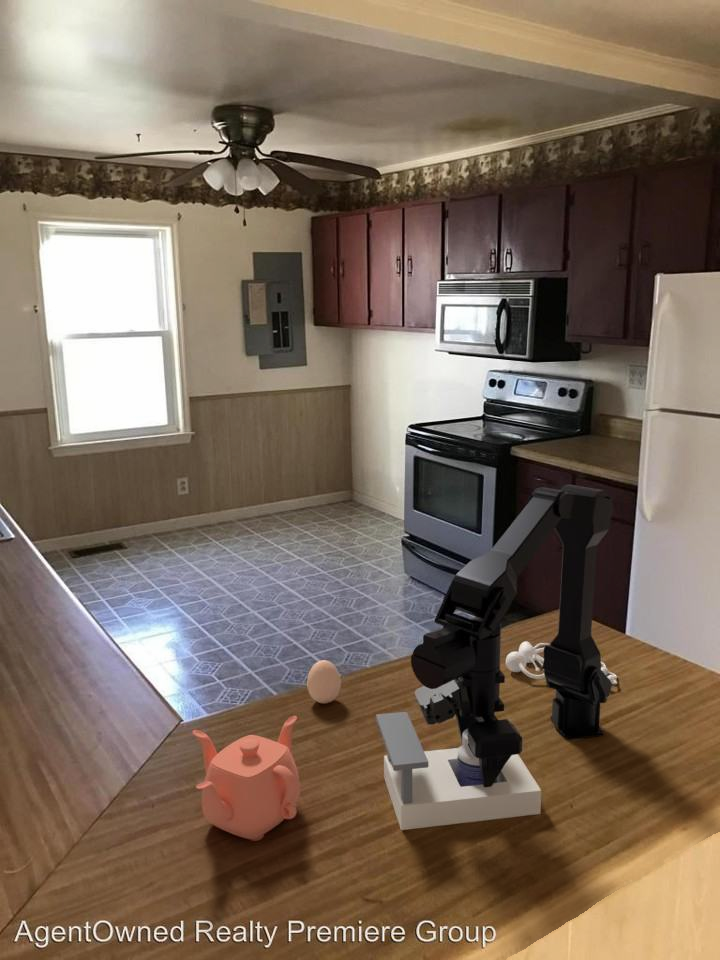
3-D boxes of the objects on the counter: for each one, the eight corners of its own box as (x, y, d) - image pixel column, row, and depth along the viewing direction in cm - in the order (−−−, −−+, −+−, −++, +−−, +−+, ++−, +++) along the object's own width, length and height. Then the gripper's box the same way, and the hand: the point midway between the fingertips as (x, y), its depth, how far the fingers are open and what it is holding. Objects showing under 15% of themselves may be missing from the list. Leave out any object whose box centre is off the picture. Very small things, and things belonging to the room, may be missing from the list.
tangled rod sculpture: (627, 677, 147) (629, 656, 146) (606, 704, 134) (608, 681, 134) (527, 651, 157) (529, 631, 156) (499, 674, 145) (501, 653, 144)
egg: (330, 713, 133) (329, 671, 131) (301, 705, 135) (300, 664, 134) (347, 698, 137) (346, 657, 136) (318, 691, 140) (317, 651, 139)
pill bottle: (494, 805, 107) (495, 746, 105) (455, 801, 108) (455, 742, 106) (496, 783, 112) (497, 726, 110) (459, 779, 113) (459, 723, 111)
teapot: (201, 863, 97) (195, 783, 95) (197, 795, 111) (191, 724, 108) (316, 842, 100) (314, 765, 98) (299, 779, 114) (296, 710, 112)
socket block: (508, 762, 117) (510, 701, 115) (541, 816, 105) (544, 749, 103) (376, 776, 114) (375, 714, 112) (394, 833, 102) (393, 765, 100)
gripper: (405, 639, 114) (405, 737, 117) (437, 701, 96) (437, 815, 99) (479, 633, 115) (478, 730, 119) (525, 693, 97) (522, 805, 101)
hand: (476, 767), depth 109 cm, fingers open, 9 cm apart
